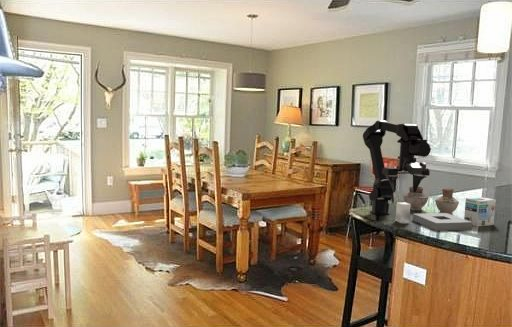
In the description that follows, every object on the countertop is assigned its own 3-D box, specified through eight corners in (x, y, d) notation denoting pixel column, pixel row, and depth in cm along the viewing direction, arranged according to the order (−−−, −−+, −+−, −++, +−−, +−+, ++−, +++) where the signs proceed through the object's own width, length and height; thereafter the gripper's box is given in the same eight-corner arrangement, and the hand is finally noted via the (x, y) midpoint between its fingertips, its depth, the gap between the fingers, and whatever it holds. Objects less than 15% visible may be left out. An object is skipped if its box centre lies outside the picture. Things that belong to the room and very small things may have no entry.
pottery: (453, 218, 189) (455, 191, 187) (398, 209, 205) (400, 184, 204) (461, 214, 197) (463, 188, 196) (407, 206, 213) (409, 182, 212)
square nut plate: (435, 230, 166) (436, 223, 166) (412, 220, 182) (413, 213, 181) (471, 229, 169) (472, 222, 169) (446, 219, 185) (446, 213, 185)
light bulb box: (477, 227, 174) (479, 201, 173) (462, 223, 180) (464, 197, 179) (494, 224, 179) (496, 199, 178) (479, 221, 185) (481, 196, 184)
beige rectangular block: (400, 223, 176) (401, 204, 175) (395, 221, 180) (396, 202, 179) (409, 223, 177) (410, 204, 176) (404, 220, 181) (405, 202, 180)
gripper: (396, 156, 166) (394, 195, 167) (439, 156, 170) (436, 195, 171) (382, 153, 177) (380, 190, 178) (423, 154, 181) (420, 190, 182)
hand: (404, 192), depth 177 cm, fingers open, 9 cm apart
